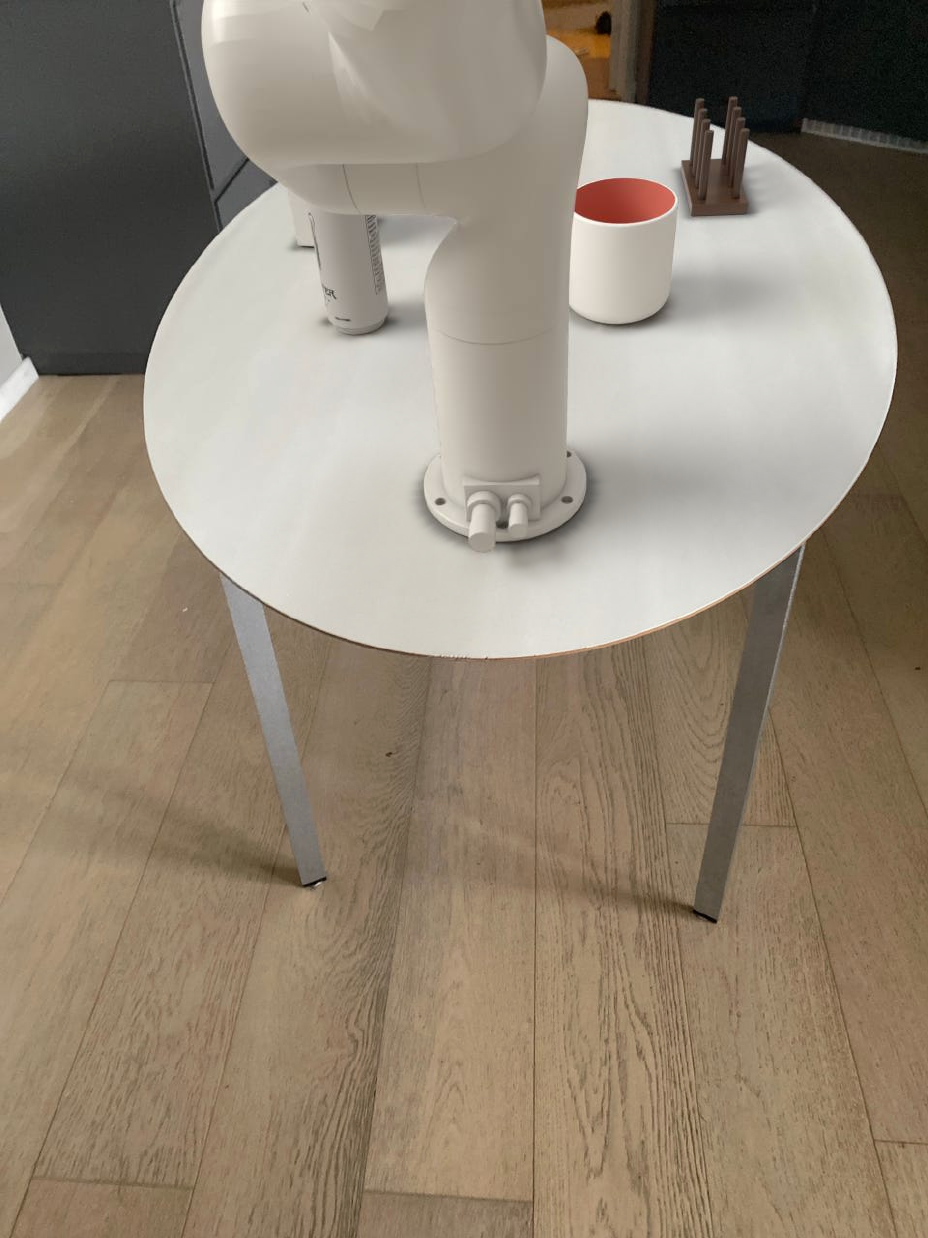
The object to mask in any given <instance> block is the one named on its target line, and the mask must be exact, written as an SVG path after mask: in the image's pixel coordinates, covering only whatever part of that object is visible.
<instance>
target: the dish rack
mask: <svg viewBox="0 0 928 1238" xmlns="http://www.w3.org/2000/svg"><path fill="white" fill-rule="evenodd" d="M738 98H739V97H737V96H729V98H728V106H727V114H726V120H725V129H724V130H725V131H724V137H723V145H722V151H721V158H712V153H713V145H714V136H715V130H713V129H711V121H712V120H711V119H709V118H708V109H707V108H705V99H704V98H702V97H699V98H696V99H695V106H694V116H693V125H692V135H691V143H690V152H689V153H690V154H689V159H681V162H680V175H681V178H682V182H683V188H684V191H685V196H686V200H687V204H688V208H689V214H690V216H691V217H699V216H700V217H701V216H726V215H746V214H748V210H749V199H748V197H747V194H746V191H745V188H744V184H743V180H744V179H743V178H744V172H745V164H746V158H747V151H748V144H749V137H750V129H749V128H746V127H745V126H746V118H745V117H742V107H740V106H738Z"/></svg>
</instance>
